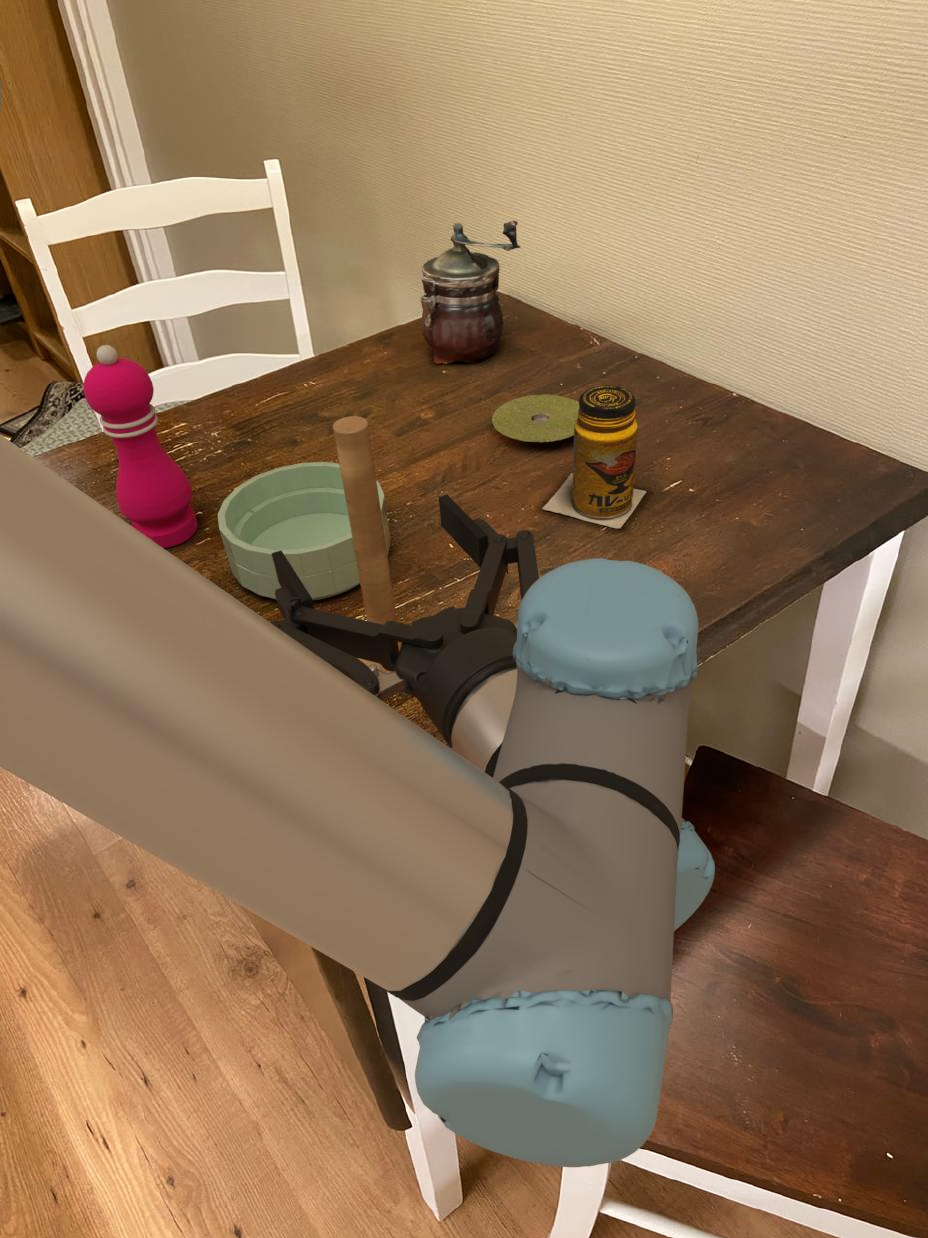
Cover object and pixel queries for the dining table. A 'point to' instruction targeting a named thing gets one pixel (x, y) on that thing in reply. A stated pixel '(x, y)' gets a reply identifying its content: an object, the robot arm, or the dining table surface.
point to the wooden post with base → (365, 520)
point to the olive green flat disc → (537, 418)
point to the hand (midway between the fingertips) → (364, 537)
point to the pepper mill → (140, 451)
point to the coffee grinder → (463, 300)
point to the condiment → (602, 460)
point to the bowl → (293, 529)
